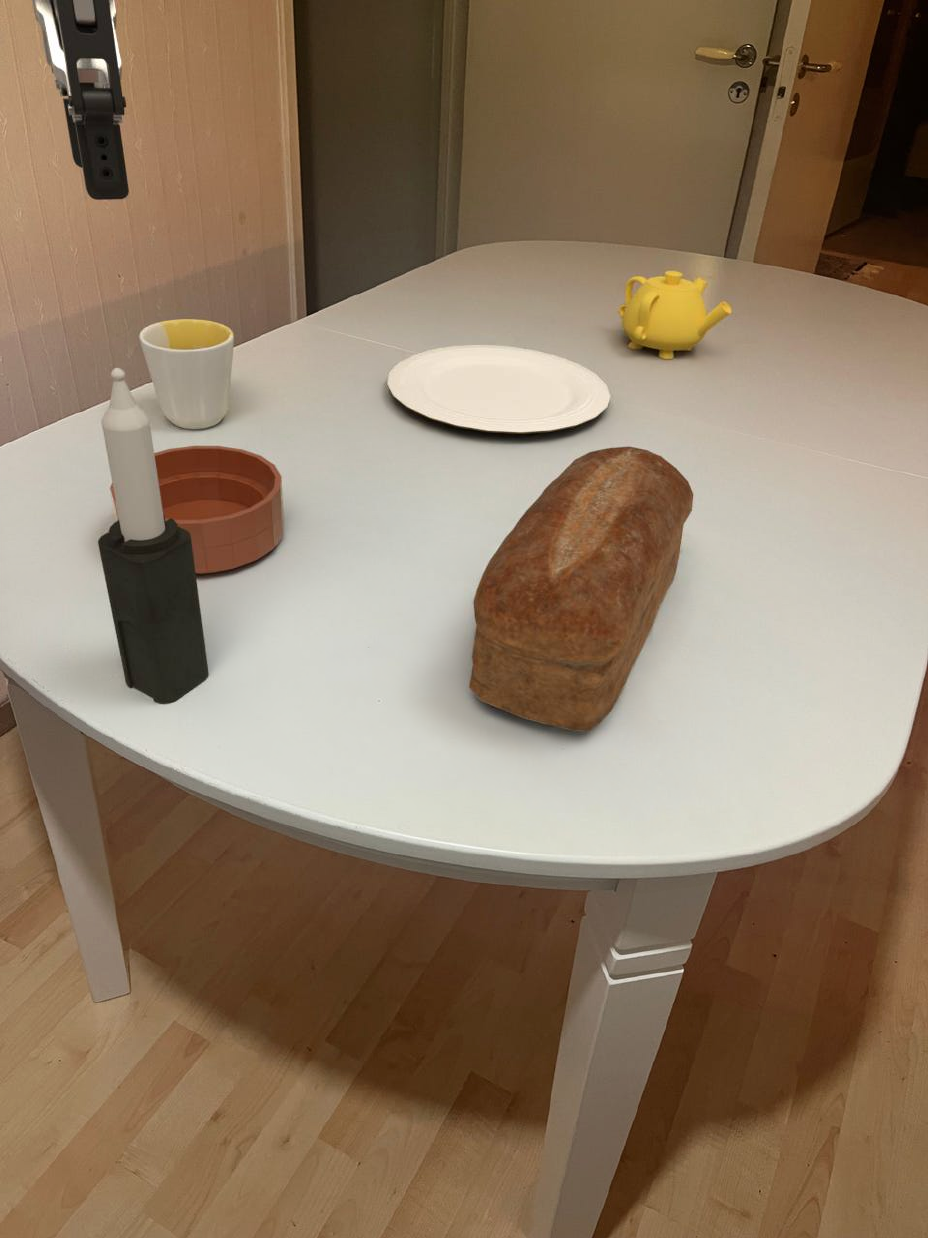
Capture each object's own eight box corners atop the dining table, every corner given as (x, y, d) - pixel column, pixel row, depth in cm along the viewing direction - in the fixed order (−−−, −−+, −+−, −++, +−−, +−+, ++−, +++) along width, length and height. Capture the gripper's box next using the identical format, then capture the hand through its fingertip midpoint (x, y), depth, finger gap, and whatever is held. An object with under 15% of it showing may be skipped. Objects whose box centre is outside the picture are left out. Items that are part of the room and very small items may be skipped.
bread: (444, 713, 71) (453, 565, 63) (568, 532, 94) (587, 407, 86) (596, 764, 67) (626, 614, 59) (686, 563, 91) (716, 436, 83)
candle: (215, 673, 73) (177, 367, 58) (166, 708, 69) (112, 391, 55) (169, 649, 75) (121, 347, 60) (119, 682, 71) (55, 369, 57)
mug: (205, 445, 105) (195, 355, 99) (133, 425, 108) (119, 337, 102) (273, 404, 115) (268, 320, 109) (205, 387, 118) (197, 305, 112)
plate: (573, 465, 107) (575, 450, 105) (347, 413, 114) (347, 399, 113) (631, 381, 129) (633, 368, 128) (439, 343, 137) (440, 330, 136)
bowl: (134, 594, 81) (124, 535, 77) (110, 512, 92) (100, 457, 88) (303, 563, 86) (300, 507, 83) (262, 489, 97) (258, 437, 94)
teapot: (721, 366, 136) (738, 288, 130) (630, 363, 135) (644, 284, 128) (693, 333, 148) (709, 260, 141) (610, 330, 146) (621, 256, 140)
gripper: (-40, -177, 49) (26, 158, 59) (-42, -200, 39) (39, 212, 48) (109, -161, 52) (149, 157, 61) (144, -179, 41) (186, 208, 51)
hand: (100, 181), depth 55 cm, fingers open, 8 cm apart
